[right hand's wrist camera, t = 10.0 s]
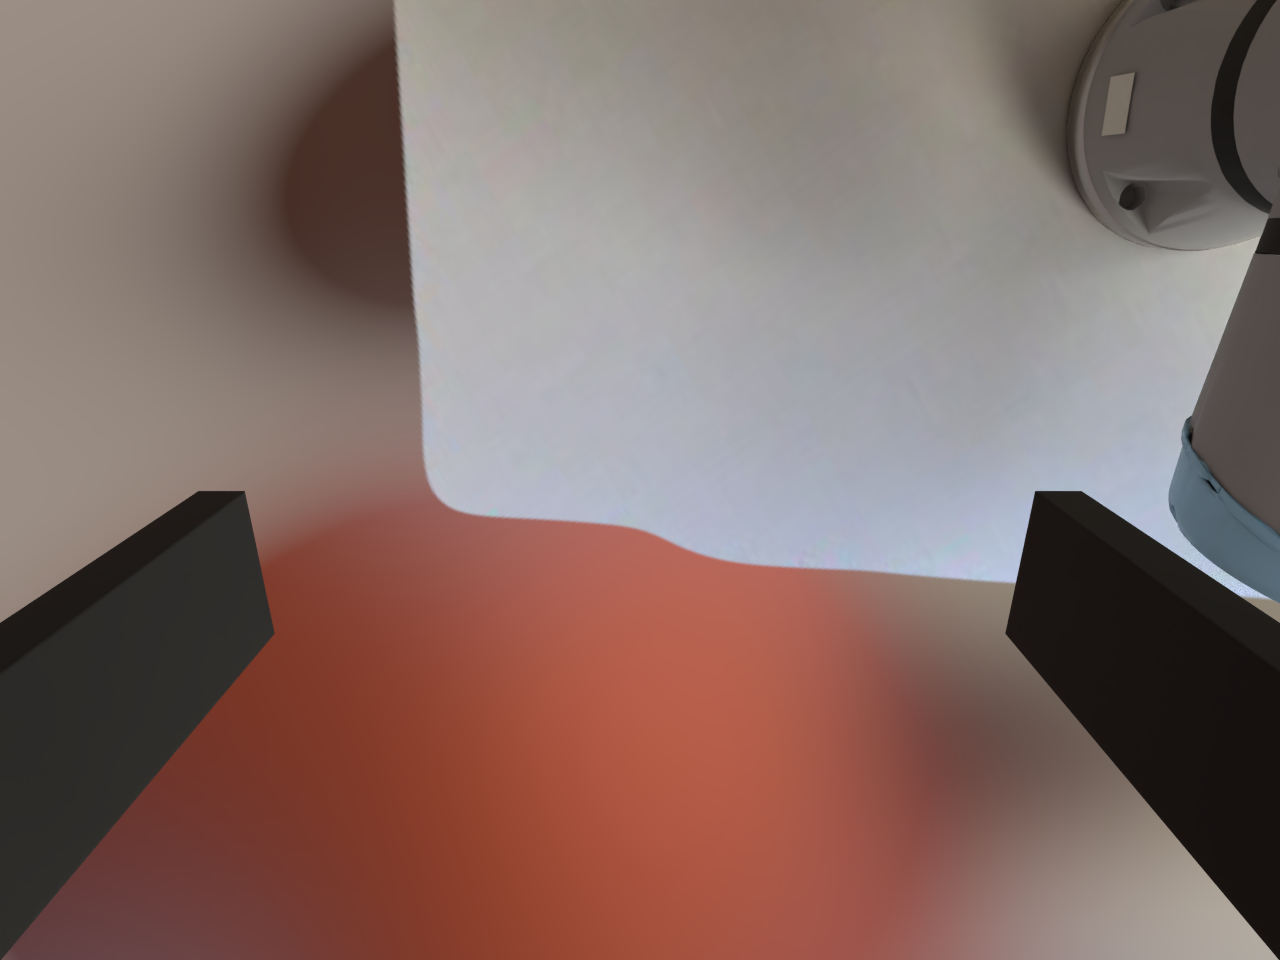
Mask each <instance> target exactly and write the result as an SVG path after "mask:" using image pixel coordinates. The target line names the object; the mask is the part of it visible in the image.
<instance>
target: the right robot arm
mask: <svg viewBox="0 0 1280 960" xmlns="http://www.w3.org/2000/svg"><path fill="white" fill-rule="evenodd" d="M1067 147H1068V156H1069V163H1070V167H1071V171H1072V175H1073V178H1074V181H1075V184H1076V186H1077V189H1078V191H1079V193H1080V195H1081V197H1082V199H1083V201H1084V202H1085V203H1086V205H1087V206H1088V208H1089V209H1090V211H1091V212H1092V213H1093V214H1094V215H1095V217H1096V218H1097V219H1098V220H1099V221H1100V222H1101V223H1102V224H1104V225H1105V226H1106V227H1107V228H1108V229H1110V230H1111V231H1113V232H1114V233H1116V234H1117V235H1119V236H1121V237H1123V238H1125V239H1127V240H1129V241H1132V242H1134V243H1137V244H1140V245H1144V246H1148V247H1153V248H1161V249H1170V250H1183V251H1197V250H1208V249H1214V248H1220V247H1224V246H1229V245H1233V244H1237V243H1241V242H1244V241H1247V240H1250V239H1253V238H1256V237H1259V236H1261V238H1260V241H1259V244H1258V246H1257V249H1256V251H1255V253H1254V255H1253V258H1252V260H1251V263H1250V265H1249V268H1248V271H1247V273H1246V276H1245V278H1244V281H1243V284H1242V286H1241V289H1240V291H1239V294H1238V297H1237V299H1236V302H1235V305H1234V307H1233V310H1232V312H1231V315H1230V318H1229V320H1228V323H1227V325H1226V328H1225V331H1224V333H1223V336H1222V338H1221V341H1220V344H1219V346H1218V349H1217V352H1216V354H1215V357H1214V359H1213V362H1212V365H1211V367H1210V370H1209V372H1208V375H1207V378H1206V380H1205V383H1204V385H1203V388H1202V391H1201V393H1200V396H1199V399H1198V401H1197V404H1196V406H1195V409H1194V412H1193V414H1192V416H1190V417H1189V418H1188V419H1186V421H1185V424H1184V426H1183V429H1182V436H1181V440H1182V445H1183V447H1182V450H1181V453H1180V456H1179V459H1178V463H1177V466H1176V469H1175V472H1174V476H1173V479H1172V482H1171V485H1170V489H1169V507H1170V511H1171V513H1172V515H1173V517H1174V519H1175V520H1176V522H1177V523H1178V527H1179V529H1180V531H1181V532H1182V534H1183V535H1184V536H1185V537H1186V539H1187V540H1188V541H1189V542H1190V543H1191V544H1192V545H1193V546H1194V547H1195V548H1196V549H1197V550H1198V551H1199V552H1200V553H1202V554H1203V555H1204V556H1205V557H1206V558H1207V559H1209V560H1210V561H1211V562H1212V563H1214V564H1215V565H1216V566H1218V567H1219V568H1221V569H1222V570H1223V571H1225V572H1226V573H1228V574H1229V575H1231V576H1232V577H1234V578H1236V579H1237V580H1239V581H1240V582H1242V583H1244V584H1245V585H1247V586H1249V587H1251V588H1252V589H1254V590H1256V591H1258V592H1259V593H1261V594H1263V595H1265V596H1267V597H1269V598H1271V599H1273V600H1274V601H1276V602H1278V603H1280V256H1279V255H1280V0H1124V1H1123V2H1122V3H1121V4H1120V5H1119V6H1118V7H1117V8H1116V10H1115V11H1114V12H1113V13H1112V15H1111V16H1110V17H1109V18H1108V20H1107V21H1106V23H1105V24H1104V26H1103V27H1102V29H1101V30H1100V31H1099V33H1098V35H1097V36H1096V38H1095V40H1094V42H1093V43H1092V45H1091V47H1090V49H1089V51H1088V53H1087V55H1086V57H1085V59H1084V61H1083V64H1082V66H1081V69H1080V71H1079V74H1078V76H1077V80H1076V83H1075V86H1074V89H1073V93H1072V98H1071V102H1070V107H1069V114H1068V122H1067ZM1268 254H1271V255H1268ZM273 635H274V629H273V624H272V619H271V615H270V609H269V605H268V600H267V595H266V591H265V586H264V581H263V576H262V572H261V567H260V562H259V557H258V553H257V548H256V543H255V538H254V533H253V529H252V524H251V519H250V514H249V510H248V505H247V500H246V495H245V491H198V492H197V493H195V494H194V495H192V496H191V497H189V498H188V499H186V500H185V501H183V502H182V503H180V504H179V505H177V506H176V507H174V508H172V509H171V510H169V511H168V512H166V513H165V514H163V515H162V516H161V517H159V518H157V519H156V520H154V521H153V522H151V523H150V524H148V525H147V526H146V527H144V528H142V529H141V530H139V531H138V532H136V533H135V534H133V535H132V536H130V537H129V538H127V539H126V540H124V541H123V542H121V543H120V544H118V545H117V546H115V547H114V548H112V549H111V550H109V551H108V552H106V553H105V554H103V555H102V556H100V557H99V558H97V559H96V560H94V561H93V562H91V563H90V564H88V565H87V566H85V567H84V568H82V569H81V570H79V571H78V572H76V573H75V574H73V575H72V576H70V577H69V578H67V579H66V580H64V581H63V582H61V583H60V584H58V585H57V586H55V587H54V588H52V589H51V590H49V591H48V592H46V593H45V594H43V595H42V596H40V597H39V598H37V599H36V600H34V601H33V602H31V603H30V604H28V605H27V606H25V607H24V608H22V609H21V610H19V611H18V612H16V613H15V614H13V615H12V616H10V617H8V618H7V619H5V620H4V621H3V622H1V623H0V960H1V959H2V958H3V957H4V956H5V954H6V953H7V952H8V951H9V950H10V948H11V947H12V946H13V945H14V944H15V943H16V941H17V940H18V939H19V938H20V937H21V935H22V934H23V933H24V932H25V931H26V929H27V928H28V927H29V926H30V925H31V923H32V922H33V921H34V920H35V919H36V917H37V916H38V915H39V914H40V913H41V911H42V910H43V909H44V908H45V907H46V906H47V904H48V903H49V902H50V901H51V900H52V898H53V897H54V896H55V895H56V894H57V892H58V891H59V890H60V889H61V888H62V886H63V885H64V884H65V883H66V882H67V880H68V879H69V878H70V877H71V876H72V874H73V873H74V872H75V871H76V870H77V869H78V867H79V866H80V865H81V864H82V863H83V861H84V860H85V859H86V858H87V857H88V855H89V854H90V853H91V852H92V851H93V849H94V848H95V847H96V846H97V845H98V844H99V842H100V841H101V840H102V839H103V837H104V836H105V835H106V834H107V833H108V832H109V830H110V829H111V828H112V827H113V826H114V824H115V823H116V822H117V821H118V820H119V818H120V817H121V816H122V815H123V814H124V812H125V811H126V810H127V809H128V808H129V807H130V805H131V804H132V803H133V802H134V801H135V799H136V798H137V797H138V796H139V795H140V793H141V792H142V791H143V790H144V789H145V787H146V786H147V785H148V784H149V783H150V782H151V780H152V779H153V778H154V777H155V776H156V774H157V773H158V772H159V771H160V770H161V768H162V767H163V766H164V765H165V764H166V762H167V761H168V760H169V759H170V758H171V756H172V755H173V754H174V753H175V752H176V751H177V749H178V748H179V747H180V746H181V745H182V743H183V742H184V741H185V740H186V738H187V737H188V736H189V735H190V734H191V733H192V731H193V730H194V729H195V728H196V727H197V725H198V724H199V723H200V722H201V721H202V719H203V718H204V717H205V716H206V715H207V714H208V712H209V711H210V710H211V709H212V707H213V706H214V705H215V704H216V703H217V702H218V700H219V699H220V698H221V697H222V696H223V694H224V693H225V692H226V691H227V690H228V689H229V687H230V686H231V685H232V684H233V683H234V681H235V680H236V679H237V678H238V677H239V675H240V674H241V673H242V672H243V671H244V669H245V668H246V667H247V666H248V665H249V663H250V662H251V661H252V660H253V659H254V657H255V656H256V655H257V654H258V653H259V652H260V650H261V649H262V648H263V647H264V646H265V644H266V643H267V642H268V641H269V640H270V638H271V637H272V636H273ZM1006 635H1007V636H1008V637H1009V638H1010V640H1011V641H1012V642H1013V643H1014V644H1015V645H1016V647H1017V648H1018V649H1019V650H1020V652H1021V653H1022V654H1023V655H1024V656H1025V657H1026V659H1027V660H1028V661H1029V662H1030V663H1031V665H1032V666H1033V667H1034V668H1035V669H1036V671H1037V672H1038V673H1039V674H1040V675H1041V677H1042V678H1043V679H1044V680H1045V681H1046V683H1047V684H1048V685H1049V686H1050V687H1051V688H1052V690H1053V691H1054V692H1055V693H1056V694H1057V696H1058V697H1059V698H1060V699H1061V700H1062V702H1063V703H1064V704H1065V705H1066V706H1067V708H1068V709H1069V710H1070V711H1071V712H1072V714H1073V715H1074V716H1075V717H1076V718H1077V719H1078V721H1079V722H1080V723H1081V724H1082V725H1083V727H1084V728H1085V729H1086V730H1087V731H1088V733H1089V734H1090V735H1091V736H1092V737H1093V739H1094V740H1095V741H1096V742H1097V743H1098V745H1099V746H1100V747H1101V748H1102V749H1103V751H1104V752H1105V753H1106V754H1107V755H1108V756H1109V758H1110V759H1111V760H1112V761H1113V762H1114V764H1115V765H1116V766H1117V767H1118V768H1119V770H1120V771H1121V772H1122V773H1123V774H1124V776H1125V777H1126V778H1127V779H1128V780H1129V781H1130V783H1131V784H1132V785H1133V786H1134V787H1135V789H1136V790H1137V791H1138V792H1139V793H1140V795H1141V796H1142V797H1143V798H1144V799H1145V801H1146V802H1147V803H1148V804H1149V805H1150V807H1151V808H1152V809H1153V810H1154V811H1155V812H1156V814H1157V815H1158V816H1159V817H1160V818H1161V820H1162V821H1163V822H1164V823H1165V824H1166V826H1167V827H1168V828H1169V829H1170V830H1171V832H1172V833H1173V834H1174V835H1175V836H1176V838H1177V839H1178V840H1179V841H1180V842H1181V844H1182V845H1183V846H1184V847H1185V848H1186V849H1187V851H1188V852H1189V853H1190V854H1191V855H1192V857H1193V858H1194V859H1195V860H1196V861H1197V862H1198V864H1199V865H1200V866H1201V867H1202V868H1203V870H1204V871H1205V872H1206V873H1207V874H1208V876H1209V877H1210V878H1211V879H1212V880H1213V882H1214V883H1215V884H1216V885H1217V886H1218V888H1219V889H1220V890H1221V891H1222V892H1223V894H1224V895H1225V896H1226V897H1227V898H1228V900H1229V901H1230V902H1231V903H1232V904H1233V905H1234V907H1235V908H1236V909H1237V910H1238V911H1239V913H1240V914H1241V915H1242V916H1243V917H1244V919H1245V920H1246V921H1247V922H1248V923H1249V925H1250V926H1251V927H1252V928H1253V929H1254V931H1255V932H1256V933H1257V934H1258V935H1259V937H1260V938H1261V939H1262V940H1263V941H1264V942H1265V944H1266V945H1267V946H1268V947H1269V948H1270V950H1271V951H1272V952H1273V953H1274V954H1275V956H1276V957H1277V958H1278V959H1279V960H1280V623H1279V622H1278V621H1276V620H1275V619H1273V618H1272V617H1270V616H1268V615H1267V614H1265V613H1264V612H1262V611H1261V610H1259V609H1258V608H1256V607H1255V606H1253V605H1252V604H1250V603H1249V602H1247V601H1246V600H1244V599H1243V598H1241V597H1240V596H1238V595H1237V594H1235V593H1234V592H1232V591H1231V590H1229V589H1228V588H1226V587H1225V586H1223V585H1222V584H1220V583H1219V582H1217V581H1216V580H1214V579H1213V578H1211V577H1210V576H1208V575H1207V574H1205V573H1204V572H1202V571H1201V570H1199V569H1198V568H1196V567H1195V566H1193V565H1192V564H1190V563H1189V562H1187V561H1186V560H1184V559H1183V558H1181V557H1180V556H1178V555H1177V554H1175V553H1174V552H1172V551H1171V550H1169V549H1168V548H1166V547H1165V546H1163V545H1162V544H1160V543H1159V542H1157V541H1156V540H1154V539H1153V538H1151V537H1150V536H1148V535H1147V534H1145V533H1144V532H1142V531H1141V530H1139V529H1138V528H1136V527H1135V526H1133V525H1132V524H1130V523H1129V522H1127V521H1126V520H1124V519H1123V518H1121V517H1120V516H1118V515H1117V514H1115V513H1114V512H1112V511H1111V510H1109V509H1108V508H1106V507H1104V506H1103V505H1101V504H1100V503H1098V502H1097V501H1095V500H1094V499H1092V498H1091V497H1089V496H1088V495H1086V494H1085V493H1083V492H1082V491H1035V495H1034V500H1033V505H1032V509H1031V514H1030V519H1029V524H1028V528H1027V533H1026V538H1025V543H1024V548H1023V552H1022V557H1021V562H1020V567H1019V571H1018V576H1017V581H1016V586H1015V591H1014V595H1013V600H1012V605H1011V610H1010V614H1009V619H1008V624H1007V629H1006Z"/></svg>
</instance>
